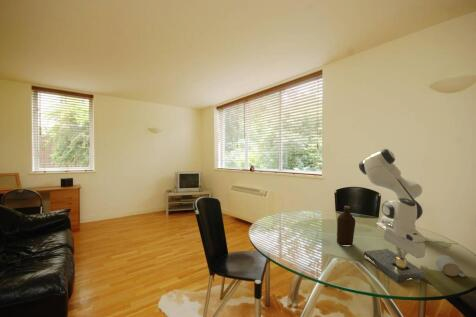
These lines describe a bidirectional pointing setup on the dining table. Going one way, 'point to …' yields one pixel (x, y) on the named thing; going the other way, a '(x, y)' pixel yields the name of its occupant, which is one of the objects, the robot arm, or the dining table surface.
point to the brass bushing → (401, 263)
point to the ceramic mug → (449, 266)
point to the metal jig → (387, 265)
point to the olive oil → (345, 227)
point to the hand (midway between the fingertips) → (401, 256)
